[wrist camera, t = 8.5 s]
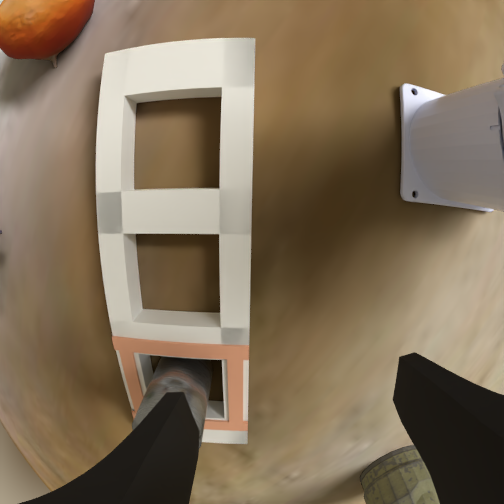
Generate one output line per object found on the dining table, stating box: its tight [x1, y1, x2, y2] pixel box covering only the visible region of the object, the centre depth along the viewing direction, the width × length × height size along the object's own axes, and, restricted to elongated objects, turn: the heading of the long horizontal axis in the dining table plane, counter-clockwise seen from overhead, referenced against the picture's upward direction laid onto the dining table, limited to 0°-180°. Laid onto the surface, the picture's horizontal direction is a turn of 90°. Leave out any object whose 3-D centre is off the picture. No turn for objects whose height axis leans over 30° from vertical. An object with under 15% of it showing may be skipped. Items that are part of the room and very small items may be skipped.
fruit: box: [0, 0, 95, 68], centre depth 11 cm, size 8×8×8 cm
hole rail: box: [96, 38, 255, 444], centre depth 17 cm, size 9×28×2 cm, turn 179°
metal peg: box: [132, 356, 213, 448], centre depth 17 cm, size 4×4×7 cm
